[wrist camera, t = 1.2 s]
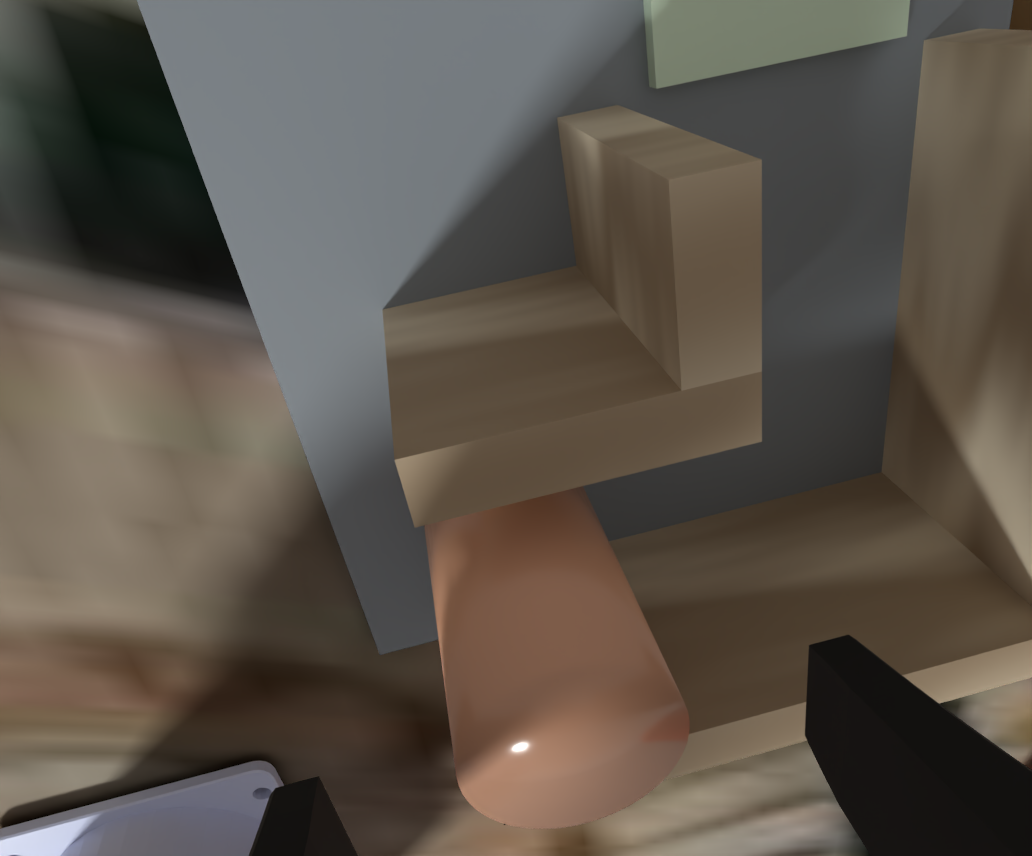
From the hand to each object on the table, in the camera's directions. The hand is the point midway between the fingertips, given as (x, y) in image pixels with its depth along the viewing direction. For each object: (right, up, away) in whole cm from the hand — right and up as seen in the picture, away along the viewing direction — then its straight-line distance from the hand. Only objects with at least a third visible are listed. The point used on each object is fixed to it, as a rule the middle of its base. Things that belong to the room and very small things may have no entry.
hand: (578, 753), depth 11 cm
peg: (-2, +4, +7) cm, 8 cm away
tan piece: (+3, +6, +7) cm, 10 cm away
